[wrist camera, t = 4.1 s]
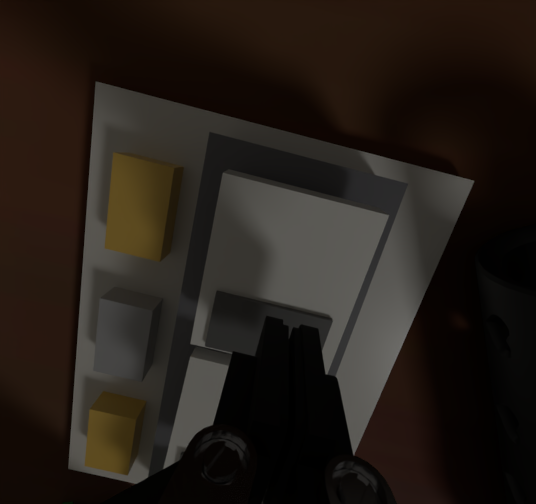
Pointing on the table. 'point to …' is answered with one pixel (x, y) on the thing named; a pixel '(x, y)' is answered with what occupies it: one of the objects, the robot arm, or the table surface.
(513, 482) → the muzzle brake
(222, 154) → the panel
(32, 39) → the table surface
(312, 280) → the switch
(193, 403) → the switch middle
